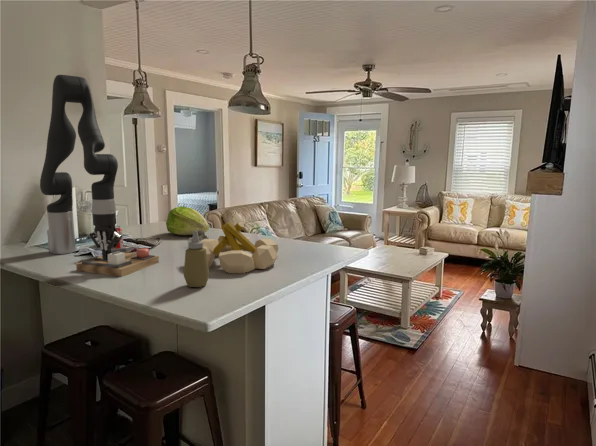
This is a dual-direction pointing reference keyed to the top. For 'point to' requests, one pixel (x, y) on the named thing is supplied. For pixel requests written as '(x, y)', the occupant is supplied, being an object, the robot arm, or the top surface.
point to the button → (142, 253)
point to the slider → (116, 258)
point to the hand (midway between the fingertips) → (107, 259)
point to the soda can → (120, 244)
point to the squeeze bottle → (196, 263)
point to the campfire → (240, 250)
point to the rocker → (122, 249)
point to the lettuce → (185, 221)
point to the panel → (121, 269)
